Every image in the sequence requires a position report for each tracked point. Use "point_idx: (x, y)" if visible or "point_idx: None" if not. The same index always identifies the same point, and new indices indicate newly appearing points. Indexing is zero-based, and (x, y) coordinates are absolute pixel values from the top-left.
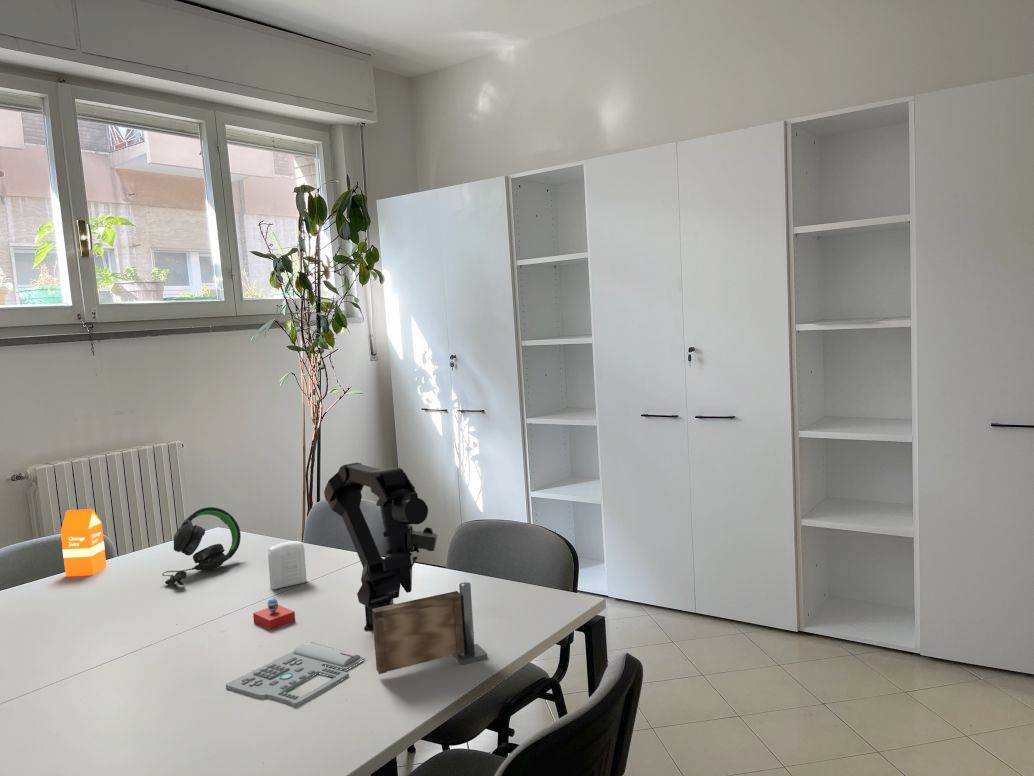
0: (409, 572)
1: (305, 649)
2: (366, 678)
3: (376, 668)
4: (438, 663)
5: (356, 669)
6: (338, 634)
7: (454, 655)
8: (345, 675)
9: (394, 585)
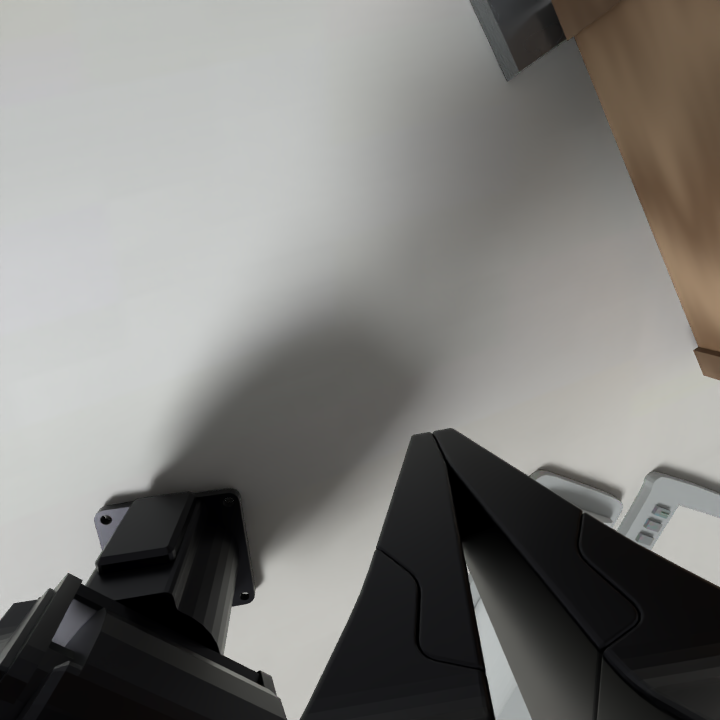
0: (716, 598)
1: (502, 700)
2: (680, 402)
3: (710, 376)
4: (594, 132)
5: (607, 466)
6: (302, 666)
7: (550, 50)
8: (676, 479)
9: (129, 670)
